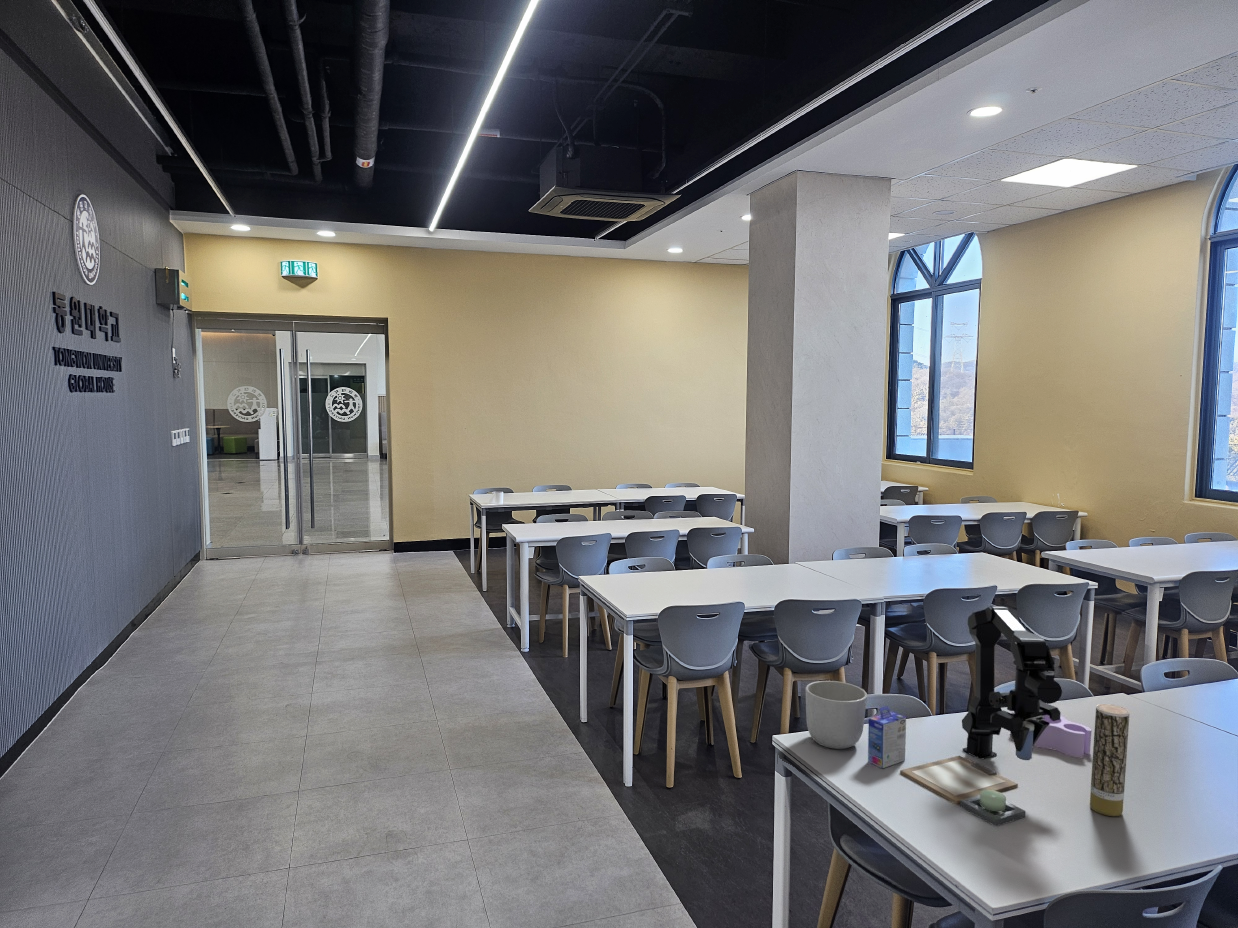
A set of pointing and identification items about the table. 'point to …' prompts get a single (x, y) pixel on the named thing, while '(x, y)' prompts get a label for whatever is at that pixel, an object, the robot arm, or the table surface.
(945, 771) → the clipboard
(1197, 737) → the table surface
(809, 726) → the planter
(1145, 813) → the table surface
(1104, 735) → the paper tube
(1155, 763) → the table surface
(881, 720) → the ink cartridge box
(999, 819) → the button bezel
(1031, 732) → the blue cylinder
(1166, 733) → the table surface
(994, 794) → the button
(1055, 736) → the clip
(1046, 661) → the robot arm
